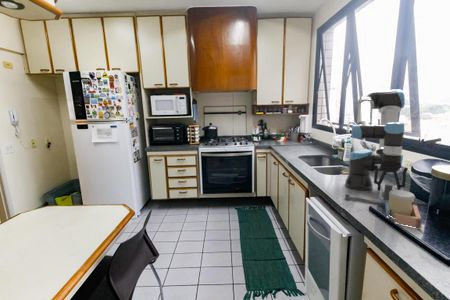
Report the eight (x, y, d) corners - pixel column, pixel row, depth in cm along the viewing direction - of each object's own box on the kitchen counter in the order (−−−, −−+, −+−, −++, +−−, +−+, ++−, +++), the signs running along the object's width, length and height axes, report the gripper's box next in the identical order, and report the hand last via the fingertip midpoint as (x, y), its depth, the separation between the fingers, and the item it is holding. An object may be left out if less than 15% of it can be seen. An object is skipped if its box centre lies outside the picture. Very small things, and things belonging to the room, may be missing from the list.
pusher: (379, 202, 119) (381, 182, 117) (393, 205, 116) (396, 184, 114) (379, 216, 105) (381, 194, 103) (395, 219, 102) (398, 196, 100)
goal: (393, 209, 112) (394, 201, 111) (415, 213, 107) (416, 204, 106) (394, 224, 99) (395, 214, 98) (420, 229, 94) (421, 219, 93)
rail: (345, 197, 128) (346, 192, 127) (403, 207, 113) (404, 202, 113) (345, 199, 126) (345, 194, 125) (404, 209, 111) (404, 203, 111)
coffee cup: (417, 223, 99) (420, 197, 97) (393, 222, 101) (395, 196, 98) (404, 213, 108) (407, 189, 106) (383, 212, 110) (385, 189, 107)
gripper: (369, 153, 113) (366, 197, 118) (417, 157, 103) (411, 204, 107) (370, 151, 119) (366, 192, 124) (415, 153, 109) (409, 198, 113)
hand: (387, 197), depth 116 cm, fingers open, 5 cm apart
